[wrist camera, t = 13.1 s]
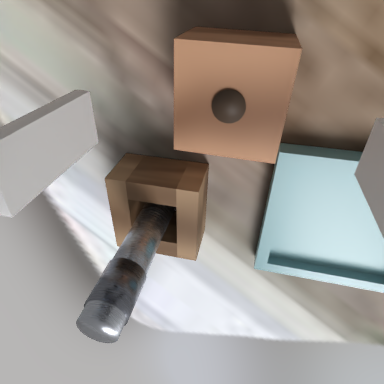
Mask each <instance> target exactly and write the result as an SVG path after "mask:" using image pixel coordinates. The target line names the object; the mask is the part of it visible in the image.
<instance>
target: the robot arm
mask: <svg viewBox="0 0 384 384" xmlns="http://www.w3.org/2000/svg"><path fill="white" fill-rule="evenodd" d="M97 143H98V136H97V130H96V124H95V118H94V113H93V107H92V101H91V95H90V91H84V90H74V91H72V92H70V93H68V94H66V95H64V96H62V97H60V98H58V99H56V100H54V101H52V102H50V103H48V104H46V105H44V106H42V107H40V108H38V109H36V110H34V111H32V112H30V113H28V114H26V115H24V116H22V117H20V118H18V119H16V120H14V121H12V122H10V123H8V124H6V125H4V126H2V127H0V215H1V216H7V217H13V216H15V214H17V213H18V212H19V211H20V210H21V209H23V208H24V207H25V206H26V205H27V204H28V203H30V202H31V201H32V200H33V199H34V198H35V197H36V196H37V195H39V194H40V193H41V192H42V191H43V190H44V189H46V188H47V187H48V186H49V185H50V184H51V183H52V182H54V181H55V180H56V179H57V178H58V177H59V176H60V175H62V174H63V173H64V172H65V171H66V170H67V169H68V168H70V167H71V166H72V165H73V164H74V163H75V162H77V161H78V160H79V159H80V158H81V157H82V156H83V155H85V154H86V153H87V152H88V151H89V150H90V149H91V148H93V147H94V146H95V145H96V144H97ZM354 175H355V177H356V179H357V181H358V183H359V186H360V188H361V190H362V192H363V194H364V197H365V199H366V201H367V203H368V205H369V208H370V210H371V212H372V214H373V216H374V219H375V221H376V223H377V225H378V227H379V229H380V232H381V234H382V236H383V238H384V118H376V120H375V123H374V125H373V128H372V131H371V133H370V136H369V138H368V141H367V143H366V146H365V148H364V151H363V153H362V156H361V158H360V161H359V163H358V166H357V168H356V171H355V173H354Z"/></svg>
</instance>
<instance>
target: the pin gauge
mask: <svg viewBox="0 0 384 384" xmlns="http://www.w3.org/2000/svg"><path fill="white" fill-rule="evenodd" d="M175 208H176V207H174V206H167V205H161V204H155V203H148V202H146V203H145V205H144V206H143V208H142V210H141V212H140V213H139V215H138V217H137V218H136V220H135V222H134V224H133V225H132V227H131V229H130V230H129V232H128V234H127V236H126V237H125V239H124V241H123V242H122V244H121V246H120V248H119V249H118V251H117V253H116V254H115V256H114V258H113V259H112V260H111V261H110V262H109V263H108V265H107V267H106V268H105V270H104V272H103V273H102V275H101V277H100V279H99V280H98V282H97V284H96V285H95V287H94V289H93V290H92V292H91V294H90V296H89V297H88V299H87V300H86V302H85V304H84V310H83V311H82V313H81V315H80V316H79V318H78V319H77V322H76V324H77V327H78V328H79V330H80V331H81V332H82V333H83V334H85V335H86V336H88V337H89V338H91V339H94V340H96V341H99V342H103V343H113V342H116V341H117V340H118V338H119V336H120V333H121V331H122V329H123V326H125V325H126V324H127V322H128V319H129V317H130V315H131V313H132V310H133V308H134V306H135V303H136V301H137V299H138V296H139V294H140V292H141V289H142V287H143V285H144V282H145V280H146V274H147V272H148V269H149V267H150V265H151V263H152V260H153V258H154V256H155V253H156V251H157V249H158V247H159V244H160V242H161V240H162V237H163V235H164V233H165V231H166V228H167V226H168V224H169V221H170V219H171V217H172V215H173V212H174V210H175Z"/></svg>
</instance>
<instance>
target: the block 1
mask: <svg viewBox="0 0 384 384" xmlns="http://www.w3.org/2000/svg"><path fill="white" fill-rule="evenodd" d="M208 169H209V164H206V163H199V162H191V161H183V160H175V159H168V158H160V157H152V156H145V155H137V154H129V153H126V154H125V155H124V157H123V158H122V159H121V160H120V161H119V162H118V164H117V165H116V166H115V167H114V168H113V169H112V171H111V172H110V173H109V174H108V175H107V176H106V178H105V183H106V188H107V194H108V199H109V204H110V210H111V215H112V221H113V226H114V231H115V237H116V242H117V246H121V244H122V242H123V241H124V239H125V237H126V236H127V234H128V232H129V230H130V229H131V227H132V225H133V224H134V222H135V220H136V218H137V217H138V215H139V213H140V212H141V210H142V208H143V206H144V205H145V203H146V202H148V203H155V204H161V205H167V206H174V207H176V208H177V211H174V212H173V215H172V217H171V219H170V221H169V224H168V226H167V228H166V231H165V233H164V235H163V237H162V240H161V242H160V244H159V247H158V249H157V251H156V253H157V254H163V255H168V256H173V257H179V258H184V259H189V260H195V261H196V259H197V255H198V251H199V248H200V244H201V241H202V237H203V234H204V230H205V219H206V202H207V186H208Z"/></svg>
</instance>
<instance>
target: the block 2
mask: <svg viewBox="0 0 384 384" xmlns="http://www.w3.org/2000/svg"><path fill="white" fill-rule="evenodd" d="M301 52H302V47H301V45H300V43H299V40H298V38H297V36H296V34H290V33H276V32H262V31H249V30H235V29H221V28H208V27H194V28H192V29H190V30H188V31H187V32H185V33H183V34H181V35H180V36H178V37H176V38H174V150H181V151H188V152H195V153H202V154H209V155H216V156H223V157H230V158H237V159H244V160H251V161H258V162H265V163H272V164H275V162H276V158H277V153H278V149H279V145H280V141H281V136H282V132H283V128H284V124H285V120H286V115H287V111H288V107H289V103H290V99H291V94H292V90H293V86H294V82H295V77H296V73H297V69H298V65H299V61H300V56H301Z"/></svg>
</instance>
